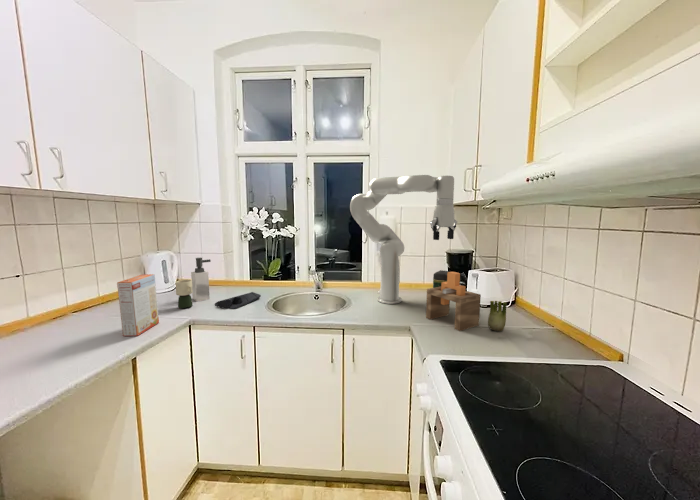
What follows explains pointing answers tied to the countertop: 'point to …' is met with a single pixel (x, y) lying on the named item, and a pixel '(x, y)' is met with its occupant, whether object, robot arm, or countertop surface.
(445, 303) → the orange stepped arch block
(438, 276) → the coffee jar
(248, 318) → the countertop surface
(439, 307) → the small wooden table
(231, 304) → the dark slate chunk
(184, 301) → the character mug
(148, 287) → the cracker box
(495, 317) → the fennel bulb
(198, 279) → the soap dispenser
